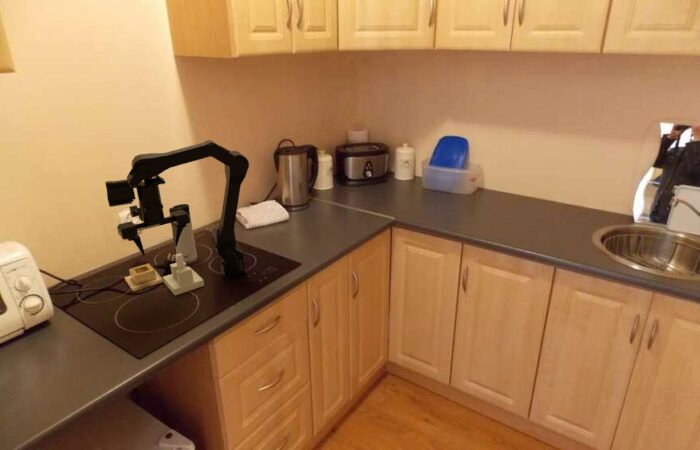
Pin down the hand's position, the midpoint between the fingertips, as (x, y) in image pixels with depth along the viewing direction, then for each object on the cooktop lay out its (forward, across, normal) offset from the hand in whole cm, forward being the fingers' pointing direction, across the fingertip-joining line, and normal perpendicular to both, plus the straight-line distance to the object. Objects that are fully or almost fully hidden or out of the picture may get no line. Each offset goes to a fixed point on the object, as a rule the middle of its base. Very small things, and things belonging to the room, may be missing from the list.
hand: (159, 250), depth 135 cm
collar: (+12, +4, -10) cm, 16 cm away
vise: (+13, -5, 0) cm, 14 cm away
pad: (+13, +4, -10) cm, 17 cm away
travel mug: (+13, -12, -15) cm, 23 cm away
